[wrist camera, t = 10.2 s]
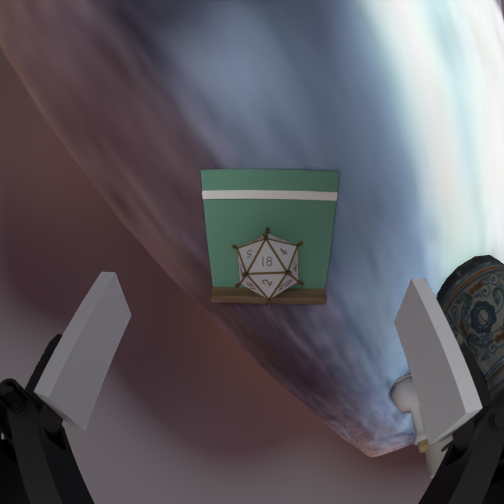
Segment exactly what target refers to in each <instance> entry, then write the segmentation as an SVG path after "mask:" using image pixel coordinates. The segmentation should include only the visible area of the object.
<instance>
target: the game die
mask: <svg viewBox="0 0 504 504" xmlns="http://www.w3.org/2000/svg"><path fill="white" fill-rule="evenodd" d="M265 230H266V231H265V233H264V234H263V235H261V236H259V237H257V238H255V239H254V240H252V241H250V242H248V243H246V244H244V245H242V246H240V247H237V245H235V244H234V245H231V246H232V248H234V249H236V250H237V257H238V271H239V283H237V284H235V287H234V288H238V287H240V285H242V286H244V287H246V288H248V289H250V290H251V291H253V292H255V293H257V294H259V295H260V296H262V297H264V298H266V299H267V305H268V306H269V307H270V305H271V304H272V303H271V300H270V299H272V298H273V297H275V296H277V295H278V294H280V293H282V292H283V291H285V290H287V289H288V288H290V287H291V286H293V285H295V284H296V283H299V285H305V284H304V283H303V282H302V281H299V262H298V247H299V246H301V245H302V244H303V242H304V241H299V243H298V244H294V243H291V242H289V241H287V240H284V239H282V238H280V237H277V236H275V235H272V234H270V233H269V232H270V231H269V230H270V229H269V228H268V227H267V228H266V229H265Z"/></svg>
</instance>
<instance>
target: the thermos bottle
mask: <svg viewBox="0 0 504 504" xmlns="http://www.w3.org/2000/svg"><path fill="white" fill-rule="evenodd" d="M420 410H421V409H420ZM421 414H422V413H421ZM422 418H423V417H422ZM423 422H424V421H423ZM452 440H453V436H452V435H451V436H449V437H448V438H447V439H445V440H444V441H440V442H437V443H433V444H429V445H430V448H429V449H428V450H427V451H425V455H426V460H427V465H428V470H429V476H430V478H433V477H434V476H435V474H436V472H437V470H438V468H439V466H440V464H441V462H442V460H443V458H444V456H445V453H446V451H447V449H448V448H447V449H446V450H445V451H443V452H441V450H442V448H443V447H444V446H445V445H447V444H448V443H450V442H451V441H452Z"/></svg>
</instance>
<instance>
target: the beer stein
mask: <svg viewBox="0 0 504 504" xmlns="http://www.w3.org/2000/svg"><path fill="white" fill-rule="evenodd" d="M437 301H438V303H439V305H440V307H441V309H442V311H443V313H444V315H445V317H446V319H447V321H448V324H449V326H450V328H451V330H452V332H453V334H454V336H455V339H456V341H457V343H458V345H459V346H460V345H466V346H467V347H468V348H469V349H470V350H471V351H472V353H473V354H474V356H475V359H476V361H477V363H478V366H479V368H480V370H481V375H483V378H484V380H485V383H486V385H487V388H488V391H489V393H490V396H491V399H492V402H493V404H494V406H495V407H496V408H500V409H502V410H503V411H504V264H503V263H501V262H500V261H499V260H497V259H495V258H494V257H492V256H491V255H485V256H476V257H473V258H472V259H470V260H468V261H467V262H465V263H463V264H462V265H460V266H458V267H457V268H456V270H455V271H454V272H453V273H452V274H451V275H450V276H449V277H448V278H447V279H446V281H445V282H444V284H443V285H442V287H441V289H440V290H439V292H438V294H437Z"/></svg>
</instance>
